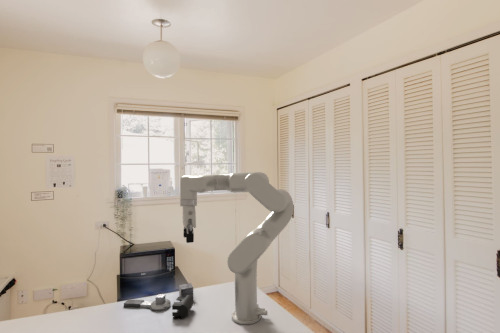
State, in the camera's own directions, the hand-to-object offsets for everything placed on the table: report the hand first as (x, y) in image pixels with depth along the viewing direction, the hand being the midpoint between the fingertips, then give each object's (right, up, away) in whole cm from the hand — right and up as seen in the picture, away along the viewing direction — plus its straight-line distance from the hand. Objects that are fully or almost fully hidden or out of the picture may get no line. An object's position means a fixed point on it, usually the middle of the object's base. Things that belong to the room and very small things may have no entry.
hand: (188, 239), depth 137 cm
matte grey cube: (-4, -33, +13) cm, 35 cm away
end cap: (-1, -33, -4) cm, 33 cm away
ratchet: (-20, -33, +5) cm, 39 cm away
